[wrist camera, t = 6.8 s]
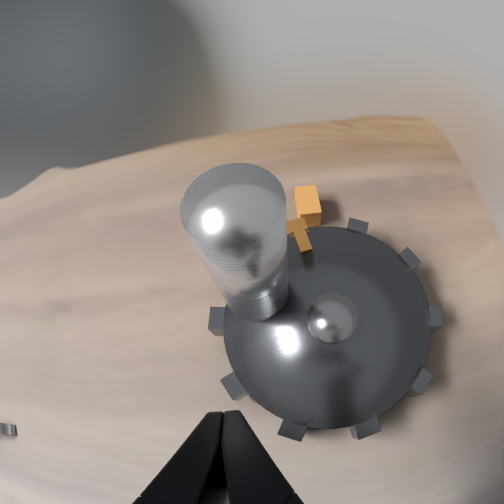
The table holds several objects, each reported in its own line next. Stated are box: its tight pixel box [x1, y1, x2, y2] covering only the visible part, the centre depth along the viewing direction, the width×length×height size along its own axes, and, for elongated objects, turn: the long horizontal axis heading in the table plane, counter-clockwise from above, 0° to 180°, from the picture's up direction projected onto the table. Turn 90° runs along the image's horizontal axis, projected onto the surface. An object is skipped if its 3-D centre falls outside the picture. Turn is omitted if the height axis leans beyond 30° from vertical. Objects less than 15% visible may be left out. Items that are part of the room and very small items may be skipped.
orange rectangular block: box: [295, 185, 322, 227], centre depth 24 cm, size 3×2×2 cm, turn 4°
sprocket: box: [180, 163, 443, 442], centre depth 15 cm, size 15×14×11 cm
